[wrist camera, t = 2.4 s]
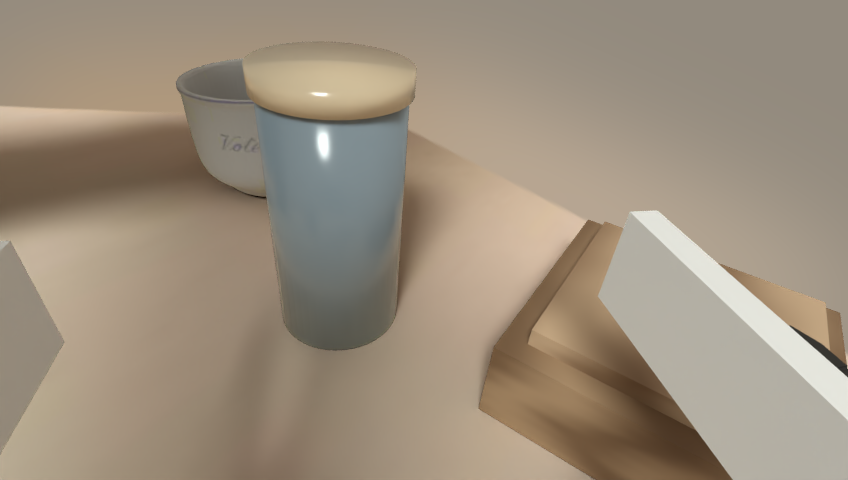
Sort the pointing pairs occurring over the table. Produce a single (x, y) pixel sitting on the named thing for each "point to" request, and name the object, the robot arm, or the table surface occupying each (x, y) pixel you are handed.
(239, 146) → the teacup
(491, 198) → the table surface
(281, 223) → the canister
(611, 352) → the pedestal
